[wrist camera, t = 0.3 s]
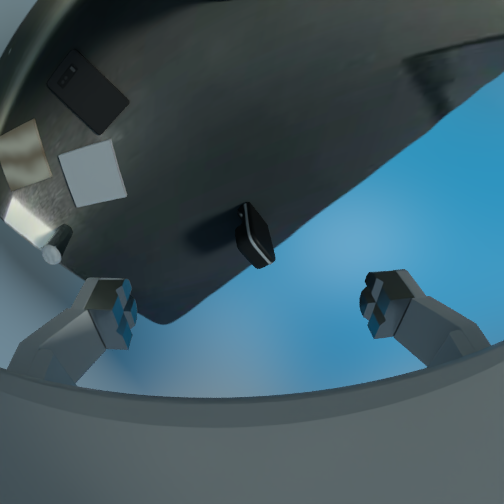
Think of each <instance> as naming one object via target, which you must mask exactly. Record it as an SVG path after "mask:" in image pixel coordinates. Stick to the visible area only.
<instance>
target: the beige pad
mask: <svg viewBox="0 0 504 504" xmlns="http://www.w3.org/2000/svg"><path fill="white" fill-rule="evenodd" d="M0 162H1V165H2V168H3V171H4V174H5V176H6V179H7V182H8V184H9V187H10V189H11V192H12V191H14V190H17V189H19V188H22V187H25V186H27V185H30V184H33V183H36V182H38V181H41V180H44V179H47V178H50V177H51V176H52V173H51V171H50V168H49V165H48V162H47V159H46V156H45V153H44V149H43V146H42V143H41V140H40V136H39V133H38V129H37V125H36V122H35V119H33V120H30V121H28V122H26V123H24V124H22V125H21V126H19V127H17V128H15V129H13V130H11V131H9V132H7V133H6V134H4V135H2V136H0Z"/></svg>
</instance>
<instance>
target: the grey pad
mask: <svg viewBox="0 0 504 504" xmlns="http://www.w3.org/2000/svg"><path fill="white" fill-rule="evenodd" d="M59 160H60V163H61V166H62V169H63V172H64V174H65V177H66V180H67V183H68V186H69V188H70V191H71V194H72V196H73V199H74V201H75V204H76V206H77V207H82V206H86V205H90V204H95V203H99V202H104V201H109V200H113V199H118V198H123V197H126V196H127V193H126V189H125V186H124V183H123V180H122V176H121V173H120V170H119V166H118V163H117V159H116V155H115V152H114V148H113V144H112V140H111V139H108V140H104V141H101V142H97V143H94V144H90V145H87V146H84V147H81V148H78V149H75V150H72V151H69V152H66V153H63V154H60V155H59Z"/></svg>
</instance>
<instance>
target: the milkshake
mask: <svg viewBox="0 0 504 504" xmlns="http://www.w3.org/2000/svg"><path fill="white" fill-rule="evenodd" d="M72 234H73V230H72V228H71V227H70V226H69V225H67V224H63V225H61V226H60V227H59V229H58V230H57V231H56V232H55V233H54V235H53V236H52V237H51V238H50V239H49V241H48V242H47V243H46V244H45V245H44V246H43V247H41V248H42V256H43V258H44V260H45V261H46V262H47V263H49V264H58V263H59V262H60V261H61V258H62V256H63V254H64V251H65V249H66V247H67V245H68V243H69V241H70V239H71V237H72Z"/></svg>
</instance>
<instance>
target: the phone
mask: <svg viewBox="0 0 504 504" xmlns="http://www.w3.org/2000/svg"><path fill="white" fill-rule="evenodd" d="M47 85H48V87H49V88H50V89H51V90H52V91H53V92H54V93H55V94H57V95H58V96H59V97H60V98H61V99H62V100H63V101H64V102H65V103H66V104H67V105H68V106H69V107H70V108H71V109H72V110H73V111H74V112H75V113H76V114H77V115H78V116H79V117H80V118H81V119H82V120H83V121H85V122H86V123H87V124H88V125H89V126H90V127H91V128H92V129H93V130H94V131H95V132H96V133H97V134H99V135H101V134H102V133H103V132H104V131H105V130H106V129H107V127H108V126H109V125H110V124H111V123H112V122H113V121H114V119H115V118H116V117H117V116H118V115H119V114H120V113H121V112H122V111H123V110H124V108H125V107H126V106H127V105H128V104H129V100H128V99H127V98H126V97H125V96H124V95H123V94H122V93H121V92H120V91H119V90H118V89H117V88H116V87H115V86H114V85H113V84H112V83H111V82H110V81H109V80H108V79H107V78H105V77H104V76H103V75H102V74H101V73H100V72H99V71H98V70H97V69H96V68H95V67H94V66H93V65H92V64H91V63H90V62H89V61H88V60H87V59H86V58H84V57H83V56H82V55H81V54H80V53H79V52H78V51H77V50H75V49H74V50H71V51H70V52H69V54H68V55H67V56H66V57H65V59H64V60H63V61H62V62H61V64H60V65H59V66H58V68H57V69H56V71H55V72H54V73H53V75H52V76H51V77H50V79H49V80H48V82H47Z"/></svg>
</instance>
